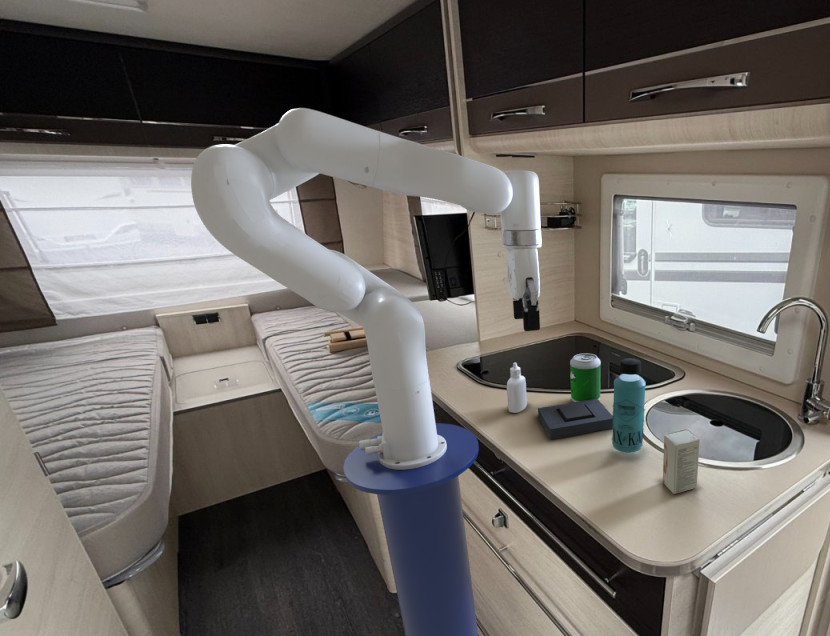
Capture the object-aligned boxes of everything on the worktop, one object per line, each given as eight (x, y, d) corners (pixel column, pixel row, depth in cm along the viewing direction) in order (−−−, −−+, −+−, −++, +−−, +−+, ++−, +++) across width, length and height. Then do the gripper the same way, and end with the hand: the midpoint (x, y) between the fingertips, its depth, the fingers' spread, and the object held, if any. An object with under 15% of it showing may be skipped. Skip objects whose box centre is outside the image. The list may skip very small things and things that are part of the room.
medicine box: (684, 475, 88) (688, 428, 85) (697, 488, 85) (702, 439, 81) (660, 481, 87) (663, 433, 83) (672, 495, 83) (676, 445, 79)
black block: (567, 430, 105) (566, 418, 104) (559, 419, 110) (559, 407, 109) (592, 426, 107) (592, 414, 106) (583, 415, 112) (583, 403, 111)
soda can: (605, 398, 121) (605, 354, 116) (592, 410, 114) (592, 364, 110) (579, 393, 124) (578, 350, 119) (565, 404, 117) (564, 359, 113)
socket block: (550, 439, 101) (550, 429, 100) (538, 417, 111) (537, 407, 110) (614, 427, 106) (614, 418, 105) (597, 407, 116) (597, 398, 115)
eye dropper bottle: (503, 408, 115) (499, 363, 111) (523, 402, 118) (520, 358, 114) (512, 414, 112) (508, 368, 108) (532, 408, 115) (529, 363, 111)
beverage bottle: (610, 444, 99) (611, 355, 92) (641, 443, 100) (644, 354, 93) (612, 460, 93) (614, 366, 86) (645, 459, 94) (650, 366, 86)
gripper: (495, 235, 97) (501, 315, 103) (511, 244, 82) (517, 337, 88) (530, 234, 100) (534, 313, 106) (552, 242, 85) (555, 333, 91)
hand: (526, 324), depth 97 cm, fingers open, 9 cm apart
